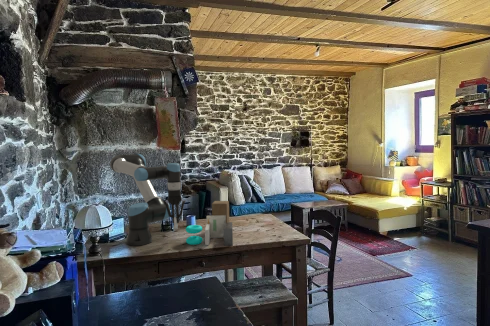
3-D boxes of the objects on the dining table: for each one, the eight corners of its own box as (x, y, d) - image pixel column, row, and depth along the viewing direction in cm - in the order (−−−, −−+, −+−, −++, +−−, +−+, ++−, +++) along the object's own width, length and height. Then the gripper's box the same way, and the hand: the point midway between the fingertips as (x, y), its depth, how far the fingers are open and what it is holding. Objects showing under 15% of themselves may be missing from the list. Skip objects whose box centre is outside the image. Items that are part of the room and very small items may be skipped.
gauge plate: (205, 245, 201) (204, 225, 200) (207, 237, 217) (206, 219, 216) (208, 245, 201) (208, 225, 201) (210, 237, 217) (209, 219, 216)
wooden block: (229, 229, 236) (228, 200, 235) (227, 233, 226) (226, 203, 225) (215, 229, 237) (214, 200, 236) (212, 233, 227) (211, 203, 226)
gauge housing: (205, 246, 201) (204, 222, 200) (207, 237, 219) (206, 215, 217) (232, 245, 202) (232, 221, 201) (232, 236, 219) (232, 214, 218)
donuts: (195, 223, 214) (205, 226, 207) (195, 239, 215) (206, 242, 208) (182, 226, 207) (192, 229, 200) (182, 243, 208) (192, 246, 201)
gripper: (162, 190, 201) (163, 230, 203) (184, 189, 202) (186, 229, 203) (164, 188, 209) (166, 227, 210) (186, 188, 209) (187, 226, 211)
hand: (175, 228), depth 207 cm, fingers closed
